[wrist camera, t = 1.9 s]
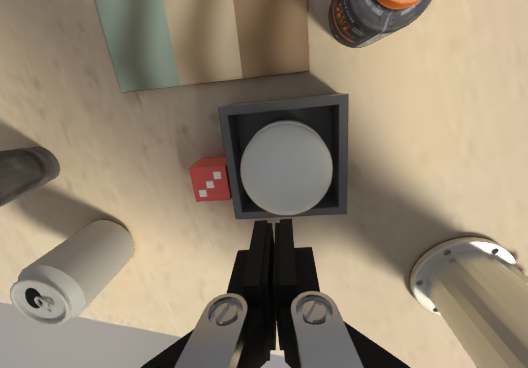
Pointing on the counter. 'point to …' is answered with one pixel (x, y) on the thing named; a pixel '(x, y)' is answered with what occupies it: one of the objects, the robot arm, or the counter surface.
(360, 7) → the pill bottle
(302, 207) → the dome
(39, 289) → the can
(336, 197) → the box
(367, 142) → the counter surface
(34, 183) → the beverage cup
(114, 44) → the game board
